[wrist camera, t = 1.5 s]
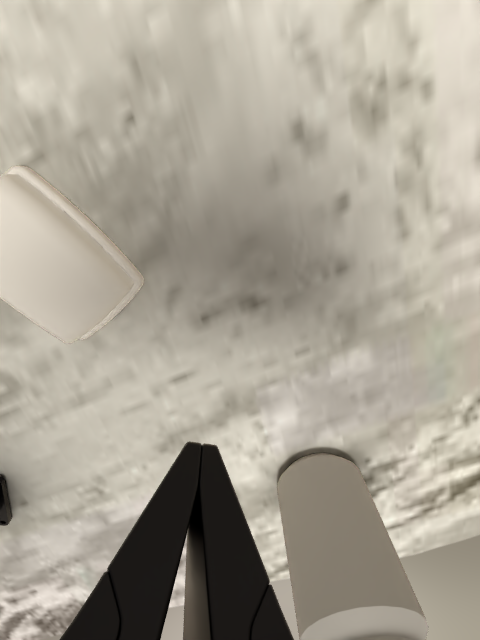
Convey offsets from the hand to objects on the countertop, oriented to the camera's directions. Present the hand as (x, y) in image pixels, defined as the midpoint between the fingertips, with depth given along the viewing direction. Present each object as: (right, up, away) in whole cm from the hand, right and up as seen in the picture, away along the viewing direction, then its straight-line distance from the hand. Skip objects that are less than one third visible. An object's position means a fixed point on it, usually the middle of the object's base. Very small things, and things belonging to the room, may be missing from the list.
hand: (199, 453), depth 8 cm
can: (+8, -10, +18) cm, 23 cm away
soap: (-10, +7, +10) cm, 16 cm away
